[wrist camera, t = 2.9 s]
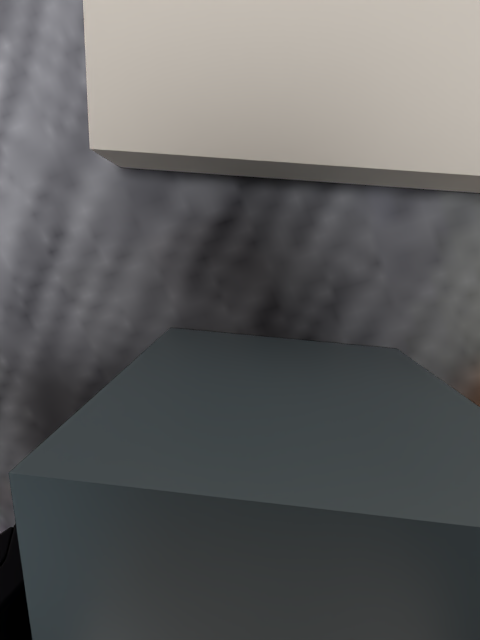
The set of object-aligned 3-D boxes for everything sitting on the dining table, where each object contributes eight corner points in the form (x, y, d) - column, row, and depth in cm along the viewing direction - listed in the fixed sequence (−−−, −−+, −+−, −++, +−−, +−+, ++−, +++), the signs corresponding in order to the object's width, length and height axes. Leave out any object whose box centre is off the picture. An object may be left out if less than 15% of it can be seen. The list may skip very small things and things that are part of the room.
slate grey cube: (167, 507, 11) (57, 818, 5) (170, 327, 9) (8, 473, 3) (356, 529, 10) (482, 886, 5) (396, 348, 9) (682, 550, 3)
